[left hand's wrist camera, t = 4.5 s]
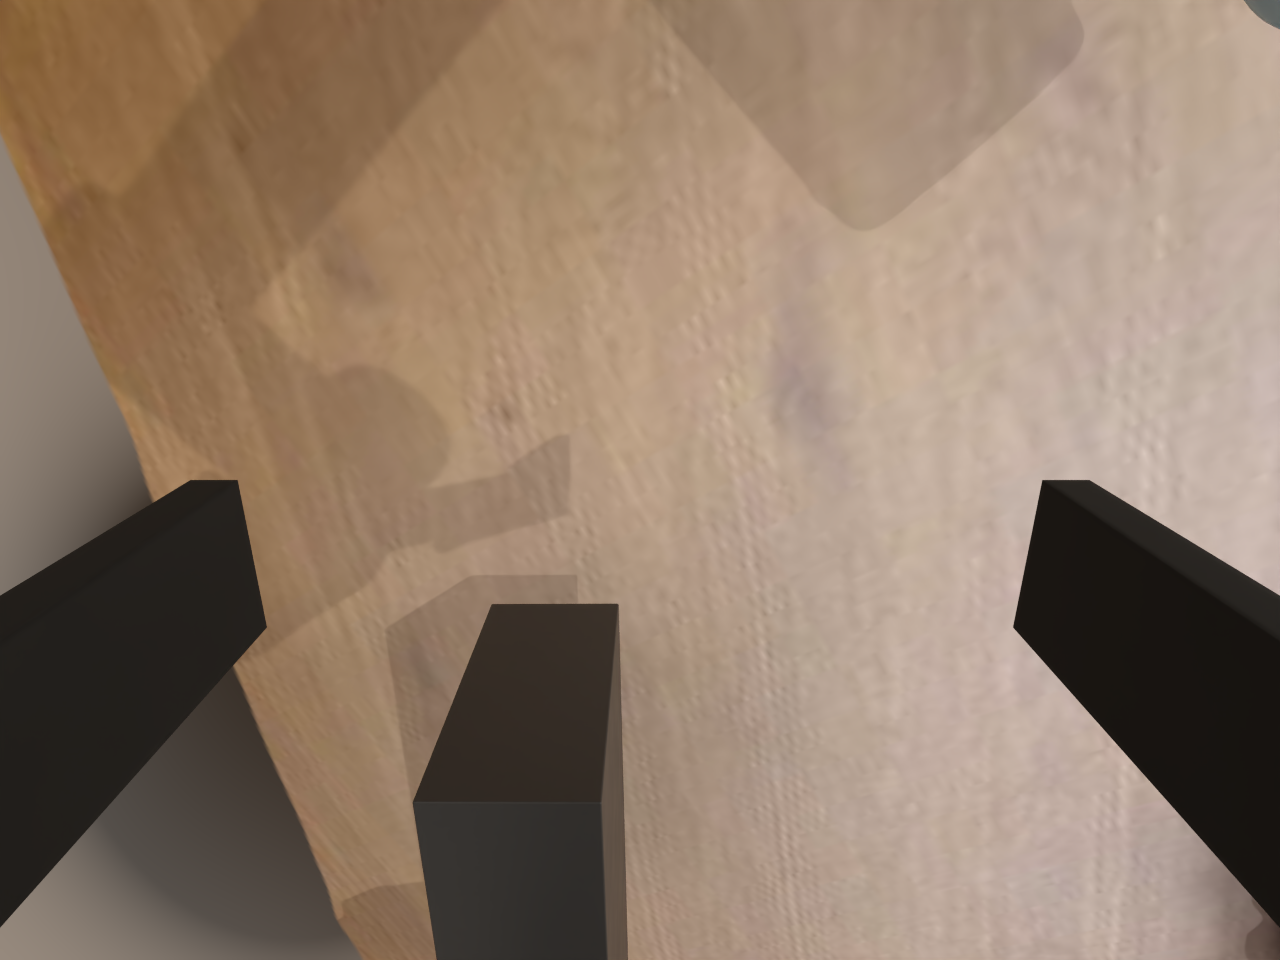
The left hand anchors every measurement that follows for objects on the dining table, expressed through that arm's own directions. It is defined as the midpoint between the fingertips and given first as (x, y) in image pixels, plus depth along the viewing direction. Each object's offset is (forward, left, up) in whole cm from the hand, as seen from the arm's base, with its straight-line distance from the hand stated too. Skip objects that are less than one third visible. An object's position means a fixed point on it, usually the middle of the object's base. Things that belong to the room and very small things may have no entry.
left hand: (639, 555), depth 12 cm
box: (+26, -5, -21) cm, 33 cm away
